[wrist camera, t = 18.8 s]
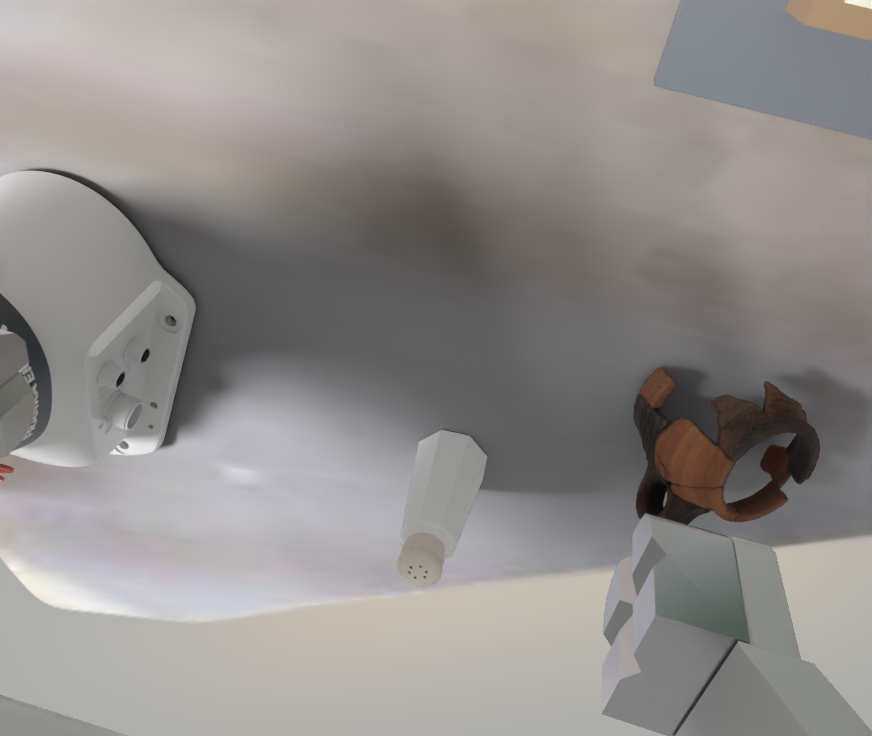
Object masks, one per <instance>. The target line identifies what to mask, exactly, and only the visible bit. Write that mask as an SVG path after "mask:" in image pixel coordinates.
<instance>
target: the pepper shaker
mask: <svg viewBox="0 0 872 736" xmlns="http://www.w3.org/2000/svg"><path fill="white" fill-rule="evenodd" d="M486 462H487V456H486V454H485V453H484V452H483V451H482V450H481V448H480V447H479V446H478V445H477V444H476V443H475V441H474V440H473V439H472V438H471V437H470V436H468V435H464V434H459V433H455V432H450V431H445V430H440V431H438V432H436V433H434V434H432V435H431V436H429V437H427V438H425V439H423V440H421V441H419V444H418V448H417V453H416V458H415V463H414V468H413V473H412V478H411V483H410V488H409V493H408V498H407V502H406V507H405V512H404V517H403V524H402V529H401V538H400V544H401V545H402V546H403V549H402V551H401V555H400V556H399V558H398V560H397V564H396V567H397V571H398V572H399V574H400V576H401V577H402V578H403V579H404V580H406V581H407V582H409V583H411V584H413V585H417V586H429V585H432V584H434V583H436V582H437V581H438V580H439V579H440V577H441V573H442V566H443V562H444V558H447V557H449V556H452V554H453V552H454V550H455V548H456V545H457V543H458V540H459V538H460V535H461V533H462V530H463V528H464V525H465V523H466V520H467V518H468V515H469V513H470V510H471V508H472V505H473V503H474V500H475V498H476V495H477V493H478V490H479V488H480V486H481V483H482V481H483V477H484V472H485V467H486Z"/></svg>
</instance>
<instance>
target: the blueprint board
mask: <svg viewBox="0 0 872 736" xmlns="http://www.w3.org/2000/svg"><path fill="white" fill-rule="evenodd" d="M654 83H655V86H657V87H661V88H665V89H669V90H673V91H677V92H681V93H685V94H689V95H694V96H698V97H702V98H706V99H710V100H714V101H718V102H722V103H726V104H730V105H734V106H738V107H742V108H746V109H750V110H754V111H758V112H762V113H766V114H770V115H775V116H779V117H783V118H787V119H791V120H795V121H799V122H803V123H807V124H811V125H815V126H819V127H823V128H827V129H831V130H835V131H839V132H843V133H847V134H851V135H856V136H860V137H864V138H868V139H872V0H681V1H680V4H679V7H678V10H677V13H676V16H675V19H674V22H673V25H672V28H671V31H670V34H669V37H668V40H667V43H666V46H665V49H664V52H663V54H662V57H661V60H660V63H659V66H658V69H657V72H656V75H655V78H654Z"/></svg>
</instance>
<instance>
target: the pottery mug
mask: <svg viewBox="0 0 872 736" xmlns="http://www.w3.org/2000/svg"><path fill="white" fill-rule="evenodd" d="M676 387H677V383H676V381H675V380H674V379H673V378H672V377H670V376H668V374H667V373H666V371H665V370H664V369H663V368H658V369H657V370H656V371H655V372H654V373H652V374H651V375H650V377H649V378H648V379H647V381H646V382H645V383H644V385H643V387H642V389H641V390H640V393H639V394H638V396H637V399H636V402H635V405H634V420H635V424H636V426H637V428H638V430H639V433H640V436H641V439H642V444H643V448H644V450H645V452H646V456H647V460H648V468H647V470H646V473H645V475H644V477H643V479H642V481H641V484H640V486H639V490H638V493H637V499H636V509H637V513H638V516H639V518H640V519H641V518H642V517H643V516H644V515H645V513H647V514H650V515H654V516H657V517H661V518H665V519H668V520H672V521H675V522H679V523H682V524H686V525H688V524H689V523H690V522H691V521H692V520H693V519H695V518H696V517H697V516H699V515H702V514H704V513H708V512H710V510H711V511H714V512H715V513H716V514H717V515H718V516H720V517H721V518H722V519H724V520H727V521H730V522H732V521H733V522H744V521H750V520H754V519H757V518H760V517H762V516H764V515H767V514H769V513H771V512H772V511H774V510H776V509H777V508H779V507H781V506H782V505H783V504H784V503H785V502H786V501H787V500H788V498H787V497H786V495H785V494H784V493H783V492H782V491H781V490H780V488H781V487H782V485H784V484H785V483H786V481H787V480H788V479H789V477H790V476H791V475H792V477H793V479H794V480H795V481H796V483H798V484H802V483H803V482H804V481H805V480H807V479H808V478H809V477H810V476H811V474H812V472H813V470H814V468H815V466H816V462H817V460H818V457H819V451H820V444H819V439H818V438H817V433H816V431H815V429H814V428H812V427H811V426H810V425H809V424H808V423H807V419H806V414H805V412H804V410H802V406H801V404H800V403H798V402H797V401H795V400H793V399H791V398H789V397H788V396H786V395H785V394H784V393H782V392H781V391H780V390H779V389H778V388H777V387H775V386H774V385H773V384H771V383H769V382H768V381H766V382H764V388H765V400H764V407H763V411H762V410H761V409H760V408H759V407H758V406H757V405H756V404H754V403H751V402H749V401H745V400H740V399H736V398H735V397H733V396H731V395H723V396H720V397H716V398H714V399H713V400H712V401H711V405H712V407H713V408H714V410H715V411H716V412H717V414H718V417H717V423H718V440H717V443H715V442H714V441H712V440H711V439H710V438H708V437H707V436H706V435H705V434H704V433H703V432H702V431H701V430H700V429H699V428H698V426H697V425H696V424H695V423H694V422H693V421H689V420H687V419H679V420H677V421H675V422H674V423H671V421H670V420H668V419H666V418H665V417H663V416H662V415H661V413H660V410H659V409H660V407H661V406H662V404H663V402H664V401H665V400H666V399H667V397H668V396H669V395H670V394H671V392H672V391H673V390H674V389H675V388H676ZM787 432H790V433H796V436H795V438H794V439H793V440H792V442H791V444H790V445H789V446H788V447H787V449H786V448H785V447H781V446H776V445H770V446H769V447H768V448H767V450H766V452H765V453H764V455H763V458H762V460H761V464H760V466H761V468H762V469H763V471H765V472H767V473H769V474H770V476H771V478H772V479H773V480H772V481H770V482H769V483H768V484H767V485H766V486H765V487H763V488H762V489H761V490H759V491H758V492H756V493H755V494H754V495H752V496H749V497H748V498H745V499H742V500H739V501H736V502H733V503H727V504H726V503H725V501H724V497H723V490H724V484H725V482H726V479H727V477H728V475H729V473H730V471H731V470H732V468H733V466H734V465H735V462H736V461H737V460H739V459H740V458H741V457H742V456H743V455H744V454H745V453H746V452H747V451H748V450H749V449H750V448H752V447H753V446H754V445H756V444H757V443H759V442H761V441H763V440H764V439H766V438H768V437H770V436H773V435H776V434H780V433H787ZM666 491H667V493H668V497H667V502H666V505H665V507H664V508H663V501H664V496H665V493H666Z"/></svg>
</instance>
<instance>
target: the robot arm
mask: <svg viewBox="0 0 872 736" xmlns="http://www.w3.org/2000/svg"><path fill="white" fill-rule="evenodd" d="M195 310H196V306H195V302H194V299H193V298H192V296H191V295H190V294H189V292H188V291H187V290H186V289H185V288H184V287H183V286H182V285H181V284H180V283H179V282H177V281H176V280H175V279H174V278H173V277H172V276H171V275H169V274H168V273H167V272H166V271H165V270H164V269H163V268H162V267H161V266H160V264H159V263H158V261H157V260H156V258H155V257H154V255H153V254H152V252H151V250H150V249H149V247H148V245H147V244H146V242H145V241H144V239H143V238H142V236H141V235H140V233H139V232H138V231H137V229H136V228H135V227H134V226H133V225H132V223H131V222H130V221H129V220H128V219H127V218H126V217H125V216H124V215H123V214H122V213H121V212H120V211H119V210H118V209H117V208H116V207H115V206H114V205H112V204H111V203H110V202H109V201H108V200H106V199H105V198H104V197H102V196H101V195H99V194H98V193H96V192H95V191H93V190H91V189H90V188H88V187H86V186H84V185H82V184H81V183H79V182H76V181H74V180H72V179H69V178H67V177H64V176H61V175H57V174H53V173H49V172H43V171H19V172H13V173H10V174H6V175H4V176H1V177H0V458H3V457H6V456H7V455H8V454H12V455H15V456H19V457H22V458H25V459H28V460H32V461H36V462H40V463H44V464H49V465H55V466H63V467H81V466H87V465H91V464H94V463H96V462H98V461H100V460H102V459H103V458H105V457H106V456H107V455H108V454H116V455H142V454H147V453H151V452H154V451H155V450H157V449H158V448H159V447H160V446H161V445H162V443H163V441H164V438H165V434H166V430H167V426H168V422H169V418H170V414H171V409H172V405H173V401H174V397H175V393H176V389H177V385H178V381H179V377H180V373H181V368H182V364H183V360H184V356H185V352H186V348H187V344H188V340H189V336H190V331H191V327H192V323H193V319H194V315H195ZM170 316H172V317H174V318H175V320H176V321H174V320H172V319H171V317H170ZM13 471H14V468H12V467H10V466H6V465H3V464H0V473H12V472H13ZM4 480H5V479H4V477H2V476H0V481H4ZM603 633H604V635H605V637H606V638H607V640H608V642H609V643H610V645H611V646H612V647H611V649H610V651H609V653H608V655H607V657H606V659H605V661H604V663H603V665H602V666H603V667H602V714H604V715H607V716H610V717H613V718H616V719H619V720H622V721H625V722H628V723H631V724H634V725H637V726H640V727H643V728H646V729H649V730H652V731H655V732H658V733H661V734H664V735H667V736H872V731H871V730H870V728H869V727H868V726H867V725H866V724H865V723H864V721H863V720H862V719H861V718H860V717H859V716H858V714H857V713H856V712H855V711H854V710H853V709H852V707H851V706H850V705H849V704H848V703H847V702H846V701H845V699H844V698H843V697H842V696H841V695H840V693H839V692H838V691H837V690H836V689H835V688H834V687H833V685H832V684H831V683H830V682H829V681H828V679H827V678H826V677H825V676H824V675H823V674H822V672H821V671H820V670H819V669H818V668H817V667H816V665H815V664H813V663H810V662H807V661H803V660H801V658H800V653H799V650H798V645H797V641H796V637H795V633H794V628H793V624H792V620H791V617H790V612H789V608H788V603H787V599H786V595H785V591H784V587H783V583H782V579H781V574H780V571H779V566H778V562H777V558H776V554H775V552H774V551H773V550H772V548H771V547H770V546H767V545H763V544H760V543H756V542H752V541H748V540H744V539H741V538H737V537H733V536H729V535H728V536H725V535H722V534H718V533H715V532H711V531H708V530H704V529H700V528H697V527H693V526H690V525H686V524H682V523H679V522H675V521H672V520H668V519H665V518H661V517H657V516H654V515H650V514H647V513H645V515H644V516H643V517H642V518H641V519H640V520H639V522H638V524H637V526H636V528H635V530H634V532H633V534H632V555H630V556H628V557H626V558H624V559H622V560H620V562H619V564H618V566H617V569H616V571H615V573H614V576H613V578H612V581H611V584H610V588H609V592H608V595H607V599H606V605H605V613H604V630H603ZM0 736H127V735H124V734H121V733H118V732H115V731H112V730H109V729H106V728H103V727H99V726H96V725H93V724H90V723H87V722H84V721H81V720H78V719H74V718H71V717H68V716H65V715H62V714H59V713H55V712H53V711H49V710H46V709H43V708H40V707H37V706H34V705H31V704H28V703H24V702H21V701H18V700H15V699H12V698H9V697H6V696H3V695H0Z"/></svg>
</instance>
